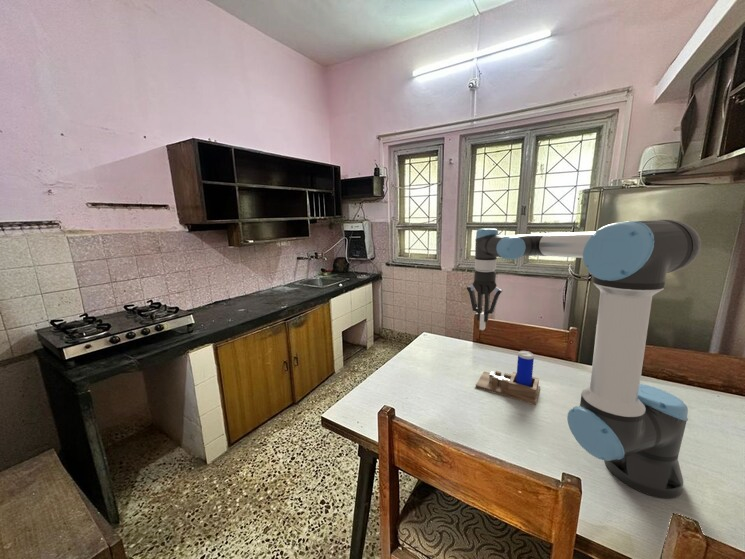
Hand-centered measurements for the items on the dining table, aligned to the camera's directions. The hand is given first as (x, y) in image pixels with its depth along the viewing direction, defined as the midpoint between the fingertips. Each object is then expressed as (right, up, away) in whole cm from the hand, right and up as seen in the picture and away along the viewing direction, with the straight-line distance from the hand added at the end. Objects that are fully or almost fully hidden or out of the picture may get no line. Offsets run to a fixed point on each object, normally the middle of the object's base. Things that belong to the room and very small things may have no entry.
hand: (482, 328), depth 116 cm
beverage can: (+14, -23, -4) cm, 27 cm away
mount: (+9, -23, -1) cm, 25 cm away
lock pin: (+7, -21, 0) cm, 23 cm away
